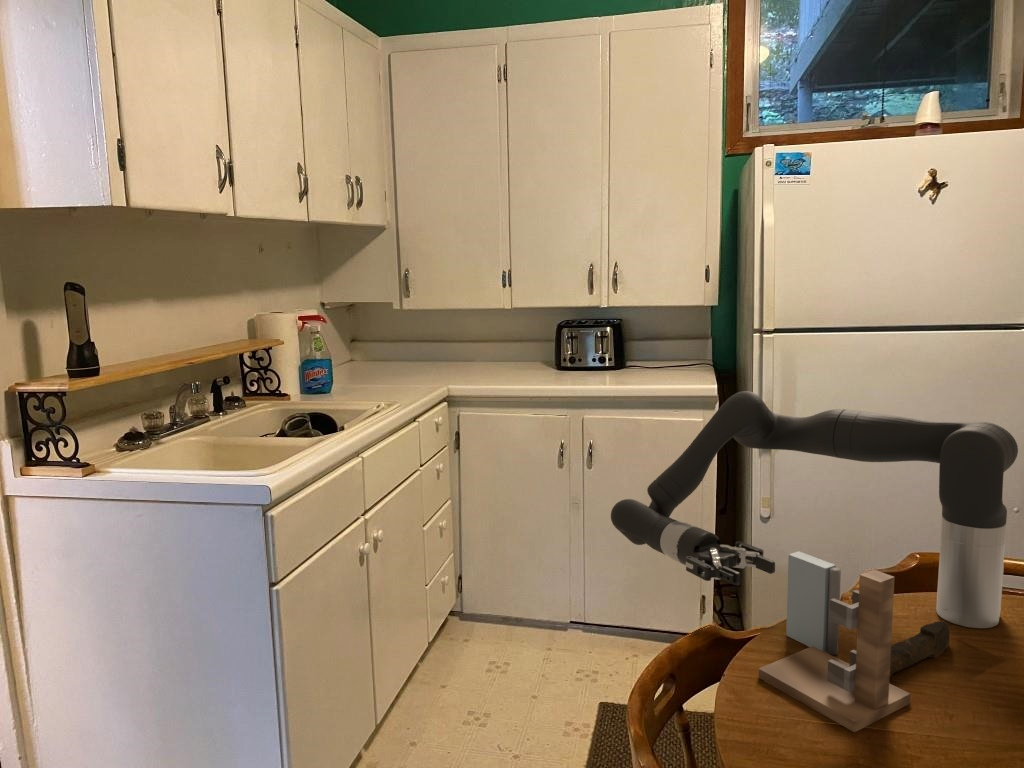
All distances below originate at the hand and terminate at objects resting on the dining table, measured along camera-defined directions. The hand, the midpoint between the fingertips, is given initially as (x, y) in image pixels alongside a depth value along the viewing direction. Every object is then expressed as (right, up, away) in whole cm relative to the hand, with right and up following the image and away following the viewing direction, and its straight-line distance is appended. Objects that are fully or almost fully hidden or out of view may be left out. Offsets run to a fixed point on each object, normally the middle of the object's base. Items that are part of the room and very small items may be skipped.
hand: (756, 573), depth 132 cm
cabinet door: (+6, -9, -8) cm, 13 cm away
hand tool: (+19, -10, -14) cm, 26 cm away
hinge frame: (+4, -11, -22) cm, 25 cm away
